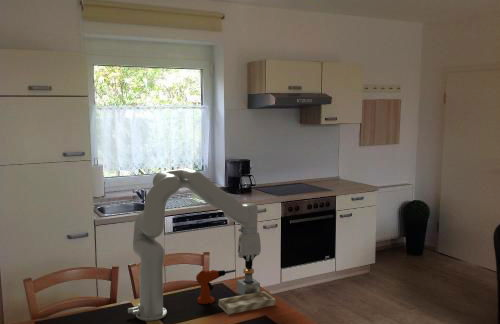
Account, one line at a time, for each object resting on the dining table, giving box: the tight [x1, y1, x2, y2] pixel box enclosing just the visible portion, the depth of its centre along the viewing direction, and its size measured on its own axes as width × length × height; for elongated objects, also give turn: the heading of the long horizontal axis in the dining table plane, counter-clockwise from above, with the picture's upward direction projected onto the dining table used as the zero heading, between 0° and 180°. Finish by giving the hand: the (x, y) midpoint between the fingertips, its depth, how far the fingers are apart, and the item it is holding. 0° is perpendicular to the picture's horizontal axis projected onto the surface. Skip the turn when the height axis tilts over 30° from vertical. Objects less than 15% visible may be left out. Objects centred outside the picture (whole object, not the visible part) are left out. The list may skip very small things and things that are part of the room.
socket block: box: [236, 277, 261, 296], centre depth 215 cm, size 8×8×6 cm
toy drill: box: [195, 269, 236, 305], centre depth 206 cm, size 5×19×15 cm, turn 105°
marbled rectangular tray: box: [218, 291, 276, 315], centre depth 202 cm, size 23×10×3 cm, turn 117°
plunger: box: [242, 267, 255, 284], centre depth 214 cm, size 5×5×9 cm
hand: (248, 268), depth 214 cm, fingers closed
